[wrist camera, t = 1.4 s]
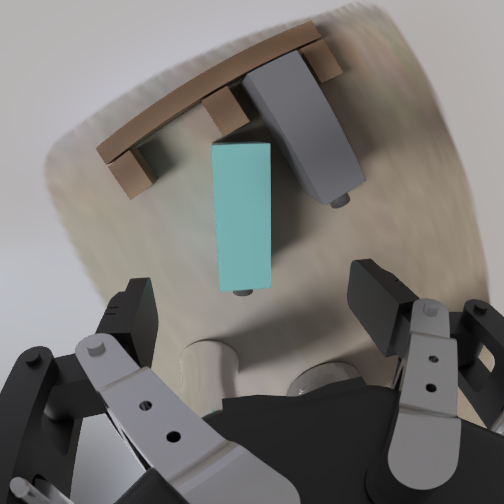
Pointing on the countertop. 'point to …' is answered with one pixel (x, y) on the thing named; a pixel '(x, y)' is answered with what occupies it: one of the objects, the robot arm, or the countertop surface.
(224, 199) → the teal plug
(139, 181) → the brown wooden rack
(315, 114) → the charcoal plug
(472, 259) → the countertop surface
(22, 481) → the robot arm
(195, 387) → the beer glass
